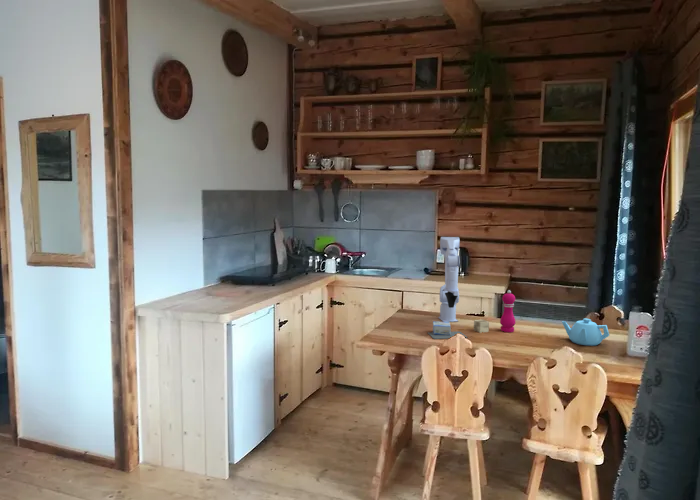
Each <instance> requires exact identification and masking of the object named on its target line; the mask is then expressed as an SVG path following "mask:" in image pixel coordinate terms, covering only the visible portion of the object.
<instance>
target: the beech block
mask: <svg viewBox="0 0 700 500" xmlns="http://www.w3.org/2000/svg"><path fill="white" fill-rule="evenodd" d="M489 327H490V321H487V320H485V319H474V320H473V331H474V332H477V333H480V334H482V332H483V333H489V331H490V330H489V329H490V328H489Z"/></svg>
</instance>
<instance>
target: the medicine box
mask: <svg viewBox="0 0 700 500" xmlns="http://www.w3.org/2000/svg"><path fill="white" fill-rule="evenodd" d="M451 326H452V325H451V322H443V321H434V320H433V321H432V332H433V334H434V335H451V332H452V330H451Z"/></svg>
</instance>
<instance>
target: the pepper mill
mask: <svg viewBox="0 0 700 500" xmlns="http://www.w3.org/2000/svg"><path fill="white" fill-rule="evenodd" d="M506 292H507V293H504V294H503V295H502V302H503V305H502V306H503V313H502V315H501V317H500V319H499V323H500V325H501V326H500V331H502V332H503V331H504V333H514V331H515V327H514V326H516V318H515V315H514V312H513V309H514V307H515V301H516V296H515V295H514V294H513V293H512V291H511V289H508V290H506Z"/></svg>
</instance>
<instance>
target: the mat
mask: <svg viewBox="0 0 700 500" xmlns="http://www.w3.org/2000/svg"><path fill="white" fill-rule="evenodd" d="M457 333H460V334H462V335H464V336H465V337H466V338H465V339H468V336H467V335H465V334H464V333H463V332H462V331H457V330H456V331H451V335H434V334H433V331H431V332H430V331H429V332H427V335H428V336H430V338H432V339H433V340H449V339H448V338H450V337H452V336H454V335H455V334H457Z"/></svg>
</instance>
